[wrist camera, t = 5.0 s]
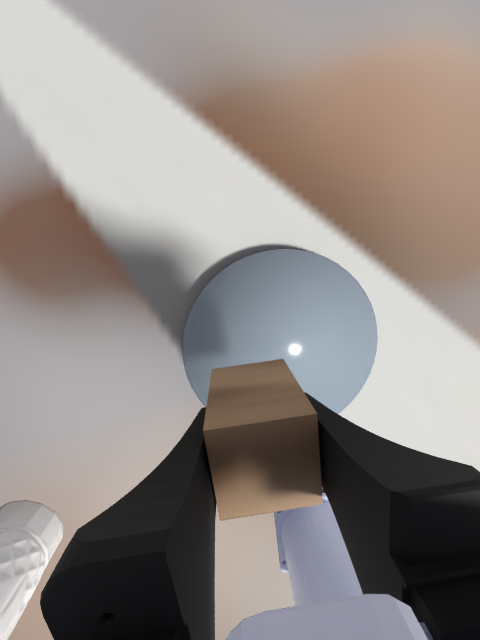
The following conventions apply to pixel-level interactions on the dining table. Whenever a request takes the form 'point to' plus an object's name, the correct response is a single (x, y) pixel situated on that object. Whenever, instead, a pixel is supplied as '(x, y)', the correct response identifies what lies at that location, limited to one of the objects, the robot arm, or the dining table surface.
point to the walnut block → (261, 440)
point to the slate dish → (284, 324)
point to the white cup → (23, 555)
